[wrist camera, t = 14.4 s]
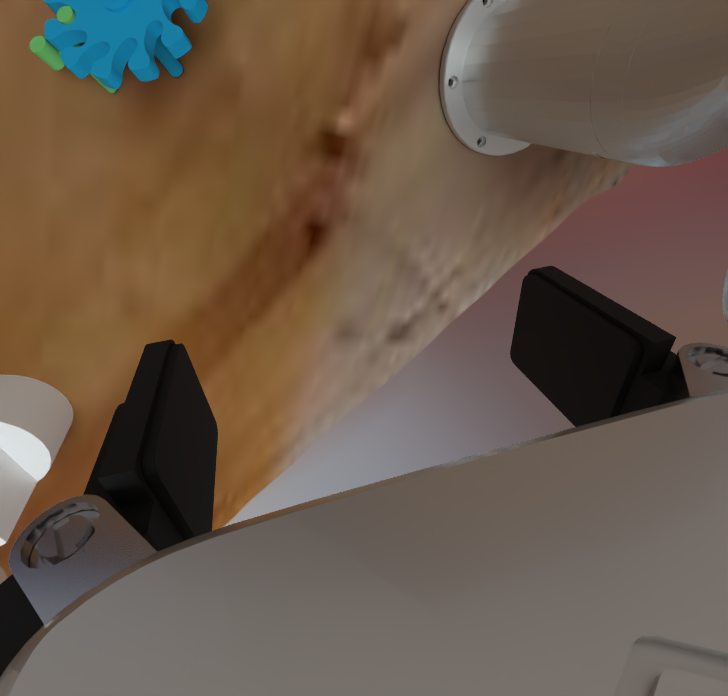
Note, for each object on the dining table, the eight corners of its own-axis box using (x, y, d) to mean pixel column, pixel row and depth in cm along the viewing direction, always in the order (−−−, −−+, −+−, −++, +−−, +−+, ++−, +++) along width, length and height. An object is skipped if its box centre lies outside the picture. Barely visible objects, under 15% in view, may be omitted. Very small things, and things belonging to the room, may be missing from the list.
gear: (167, -127, 22) (216, 20, 20) (220, -18, 27) (261, 102, 26) (-1, -40, 23) (35, 105, 21) (85, 47, 29) (117, 165, 27)
